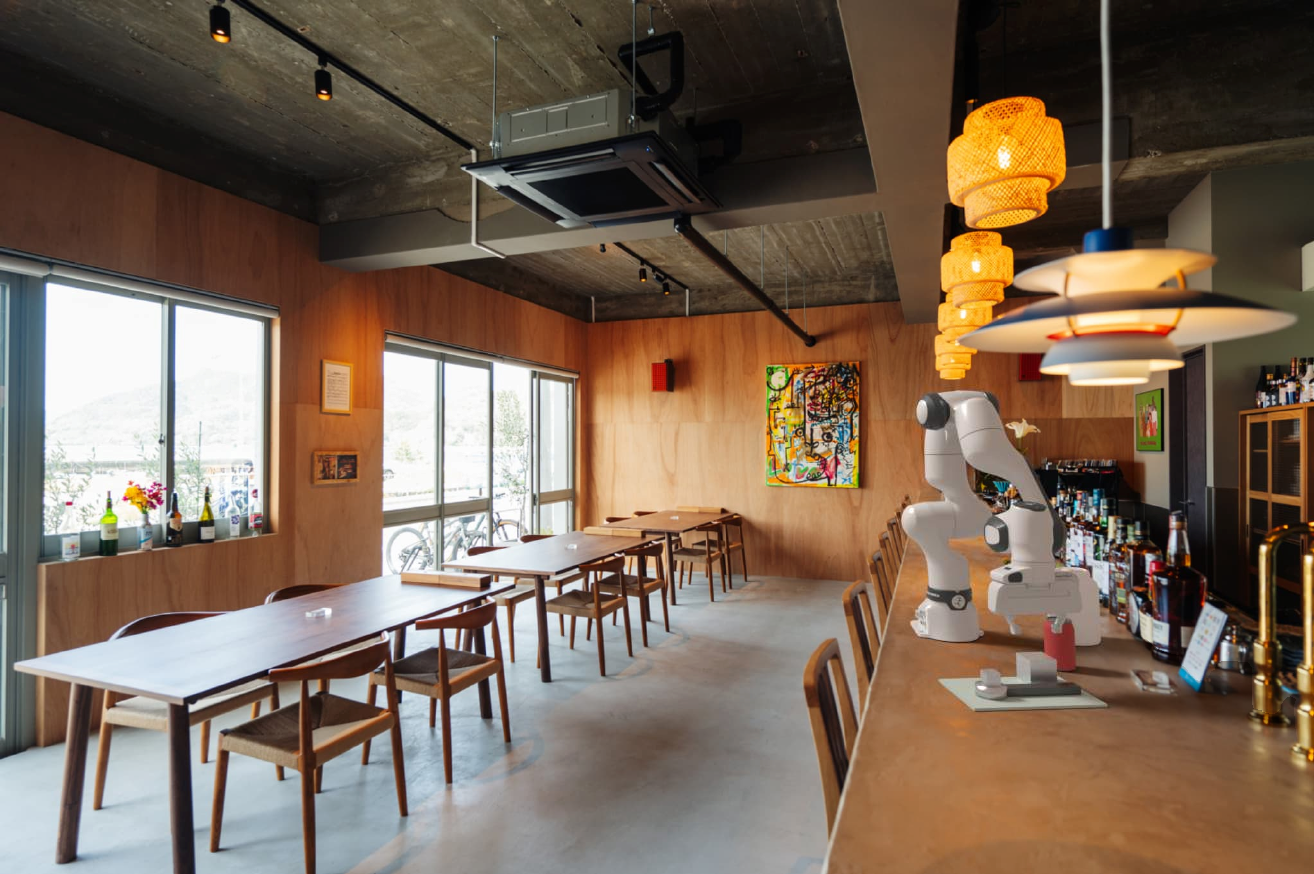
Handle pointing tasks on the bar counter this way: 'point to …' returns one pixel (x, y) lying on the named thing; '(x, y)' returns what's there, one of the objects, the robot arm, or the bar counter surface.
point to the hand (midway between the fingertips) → (1036, 633)
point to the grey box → (1036, 667)
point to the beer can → (1060, 644)
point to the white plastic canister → (1085, 609)
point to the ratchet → (1019, 687)
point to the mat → (966, 693)
